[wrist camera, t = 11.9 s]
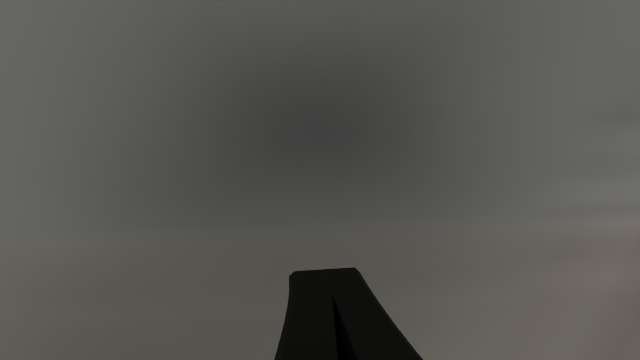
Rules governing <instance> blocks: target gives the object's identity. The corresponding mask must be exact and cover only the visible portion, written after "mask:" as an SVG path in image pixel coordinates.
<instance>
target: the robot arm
mask: <svg viewBox="0 0 640 360" xmlns="http://www.w3.org/2000/svg"><path fill="white" fill-rule="evenodd" d="M274 360H423V359H422V358H421V357H420V355H419V354H418V353H417V352H416V351H415V349H414V348H413V347H412V346H411V344H410V343H409V342H408V340H407V339H406V338H405V337H404V335H403V334H402V333H401V332H400V330H399V329H398V328H397V326H396V325H395V324H394V322H393V321H392V320H391V318H390V317H389V316H388V314H387V313H386V311H385V310H384V309H383V307H382V306H381V304H380V303H379V302H378V300H377V299H376V297H375V296H374V294H373V293H372V291H371V290H370V288H369V287H368V285H367V283H366V282H365V280H364V279H363V277H362V275H361V273H360V272H359V271H358V270H357V269H356V268H339V269H324V270H308V271H295V272H293V273H292V274H291V275H290V276H289V299H288V306H287V312H286V317H285V322H284V326H283V330H282V334H281V337H280V341H279V345H278V349H277V353H276V356H275V359H274Z"/></svg>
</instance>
